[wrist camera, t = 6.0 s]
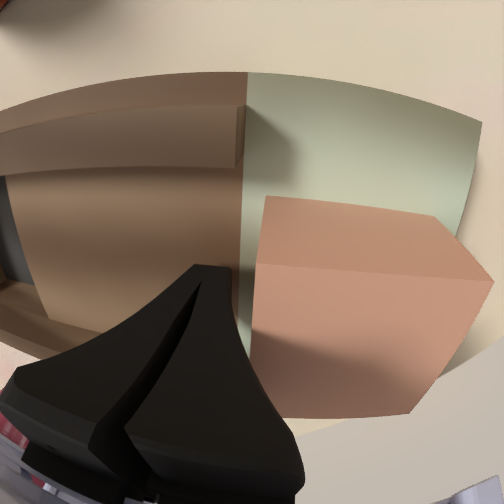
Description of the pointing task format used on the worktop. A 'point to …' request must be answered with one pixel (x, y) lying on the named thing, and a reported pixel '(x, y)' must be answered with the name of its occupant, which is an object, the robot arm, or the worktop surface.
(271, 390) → the block
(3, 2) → the supplement bottle
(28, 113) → the chute
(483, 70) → the worktop surface
